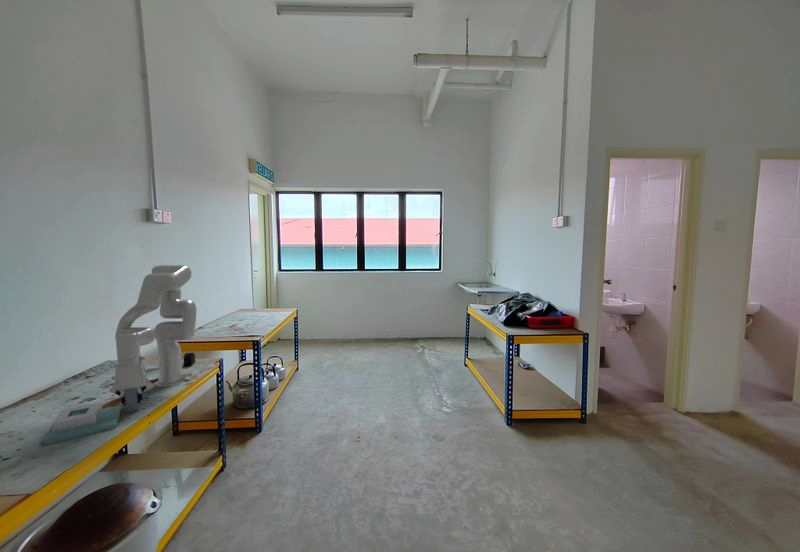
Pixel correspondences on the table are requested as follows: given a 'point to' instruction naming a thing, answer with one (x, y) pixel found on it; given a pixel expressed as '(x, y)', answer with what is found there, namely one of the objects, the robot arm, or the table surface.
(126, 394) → the key pin
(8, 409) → the table surface
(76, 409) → the chuck block
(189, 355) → the tape measure
